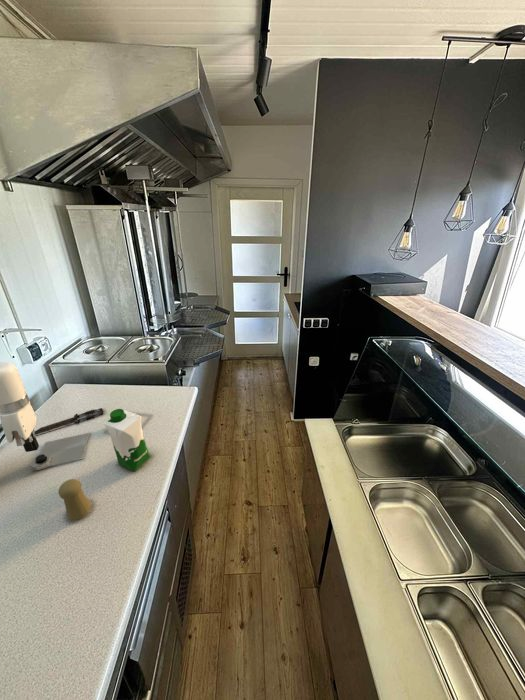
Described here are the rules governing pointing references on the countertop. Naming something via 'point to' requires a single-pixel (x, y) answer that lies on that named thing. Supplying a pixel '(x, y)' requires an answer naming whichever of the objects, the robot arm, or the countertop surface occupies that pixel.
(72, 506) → the cork
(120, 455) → the milk carton
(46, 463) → the scale
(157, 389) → the countertop surface
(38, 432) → the knife
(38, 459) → the power button
